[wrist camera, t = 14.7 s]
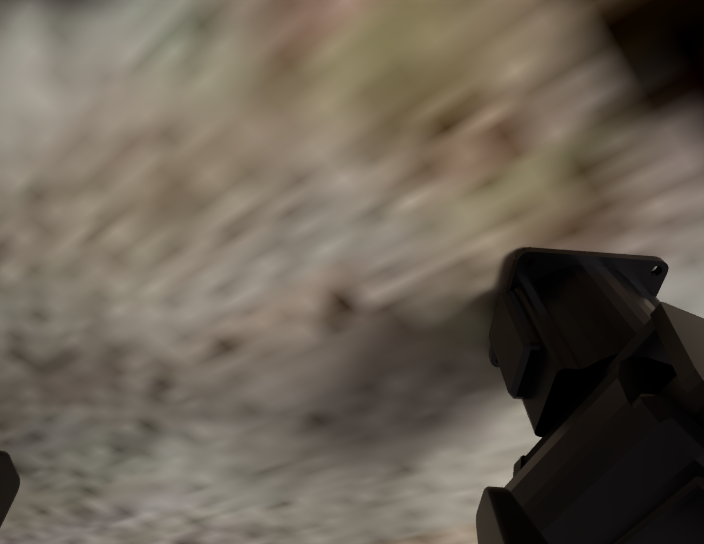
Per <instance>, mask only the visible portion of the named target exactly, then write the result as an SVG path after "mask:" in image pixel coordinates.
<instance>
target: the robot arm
mask: <svg viewBox="0 0 704 544" xmlns="http://www.w3.org/2000/svg"><path fill="white" fill-rule="evenodd" d="M527 257H532V259H531V261H529V262H526V263H525V262H523V261H524V259H525V258H527ZM655 266H657V268H656V269H655V270H654V271H651V272H650V270H651V269H652V268H653V267H655ZM668 269H669V268H668V265H667V264H666V263H665V262H664V261H663V260H662V259H661V258H659V257H654V256H640V255H626V254H613V253H599V252H586V251H572V250H558V249H545V248H531V247H528V248H523V249H521V250H520V251H519V252H517V254H516V256H515V259H514V263H513V267H512V270H511V274H510V278H509V281H508V285H507V289H506V290H503V291H502V292H501V293H500V294H499V298H498V302H497V306H496V309H495V313H494V317H493V321H492V325H491V328H490V332H489V338H490V341H491V348H490V352H489V358H490V361H491V363H492V365H494V366H495V367H500V370H501V373H502V376H503V378H504V381H505V384H506V387H507V390H508V393H509V394H510V395H511V396H512V398H513V399H522V401H523V404H524V406H525V409H526V412H527V414H528V417H529V420H530V422H531V425H532V428H533V430H534V433H535V435H536V436H539V437H542V439H541V440H540V441H539V442H538V443H537V444H536V445H535V446H534V447H533V448H532V450H531V451H530V452H529V453H528V454H527V455H526V456H524V455H523V456H521V457H520V459H519V460H518V461H517V462H516V463H515V464H514V472H513V478H512V479H511V481H510V482H509V483H508V484H507V485H506V486H505V487H504V488H503V487H486V488H485V489H484V491H483V494H482V497H481V501H480V504H479V507H478V510H477V514H476V528H477V538H478V544H704V318H701V317H699V316H696V315H694V314H691V313H689V312H686V311H684V310H681V309H679V308H676V307H674V306H671V305H669V304H667V303H664V302H660V301H659V300H658V299H657V298H656V296H657V294H658V292H659V290H660V288H661V285H662V283H663V281H664V279H665V277H666V275H667V272H668ZM19 485H20V477H19V475H18V473H17V470H16V468H15V466H14V464H13V462H12V460H11V457H10V455H9V454H8V453H7V452H5V451H0V527H1V525H2V523H3V521H4V519H5V517H6V515H7V513H8V511H9V509H10V507H11V504H12V502H13V500H14V498H15V496H16V494H17V492H18V489H19Z"/></svg>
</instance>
